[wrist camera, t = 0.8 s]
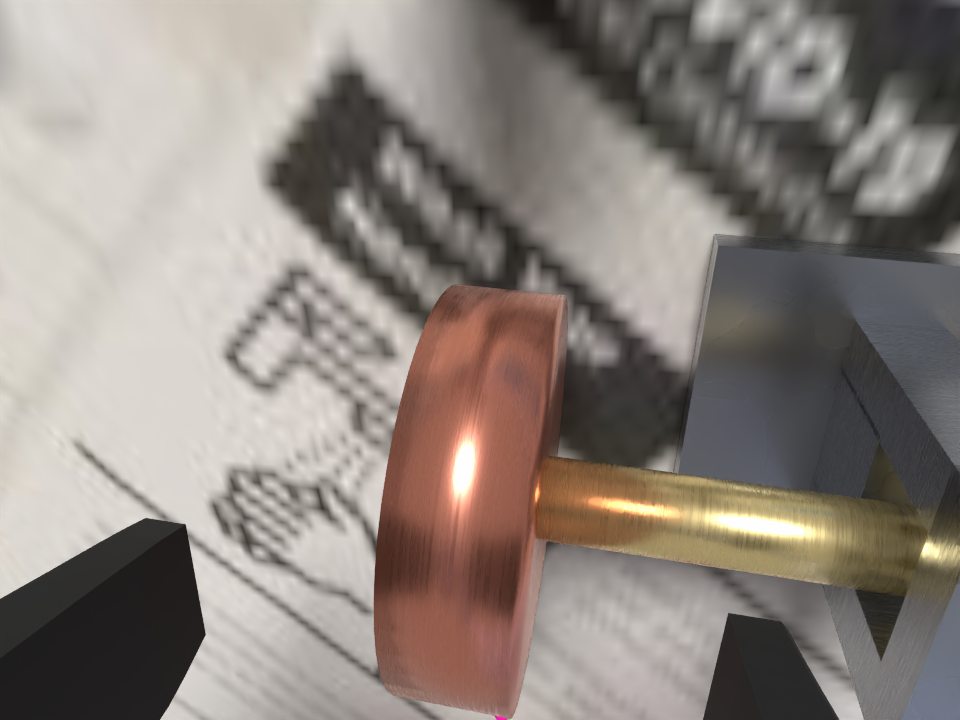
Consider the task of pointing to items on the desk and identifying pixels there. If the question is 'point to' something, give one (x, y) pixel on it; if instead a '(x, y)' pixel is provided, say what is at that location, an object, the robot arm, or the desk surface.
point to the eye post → (845, 428)
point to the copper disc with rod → (559, 508)
